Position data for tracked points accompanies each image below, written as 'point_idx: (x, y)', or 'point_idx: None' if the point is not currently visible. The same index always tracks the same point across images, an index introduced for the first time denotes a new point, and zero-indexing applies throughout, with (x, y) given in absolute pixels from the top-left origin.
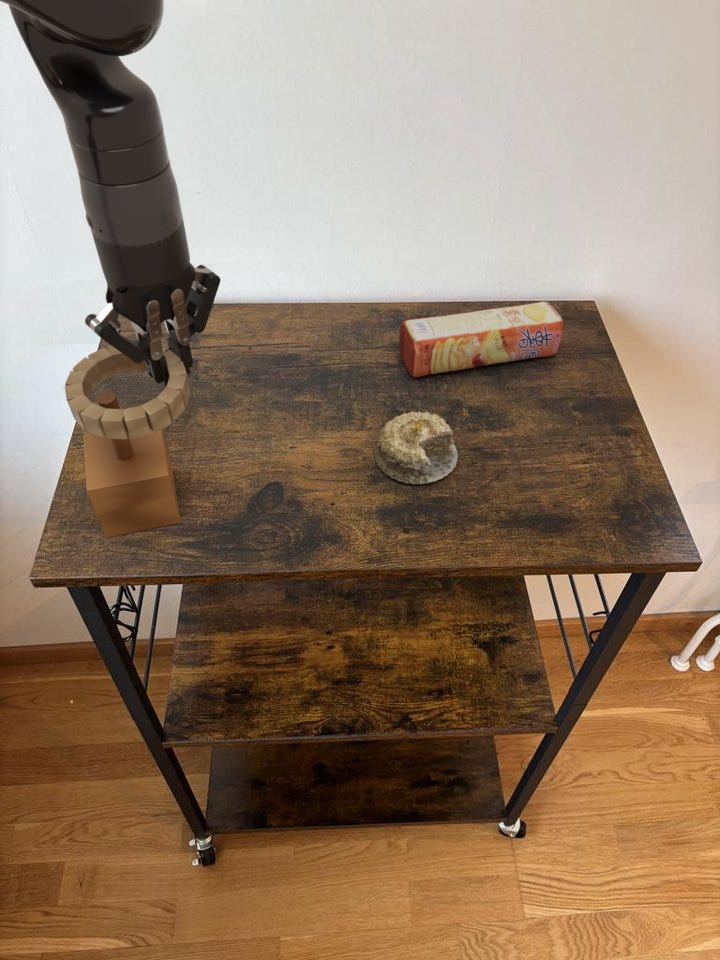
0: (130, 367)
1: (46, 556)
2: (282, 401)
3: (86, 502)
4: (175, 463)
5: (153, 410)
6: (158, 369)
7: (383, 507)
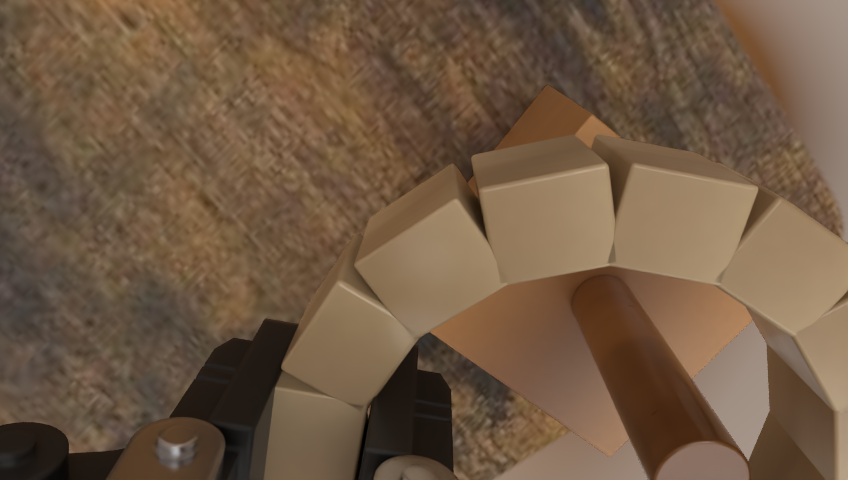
0: None
1: None
2: (23, 177)
3: None
4: None
5: (718, 195)
6: (418, 422)
7: None
